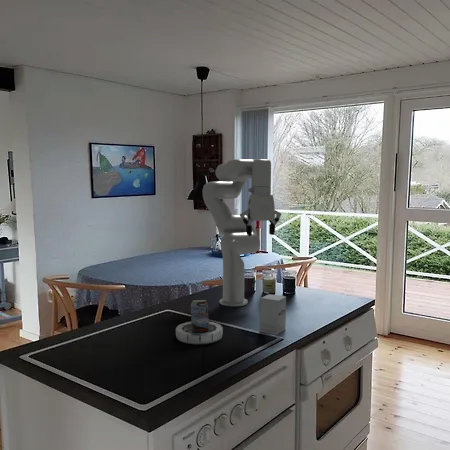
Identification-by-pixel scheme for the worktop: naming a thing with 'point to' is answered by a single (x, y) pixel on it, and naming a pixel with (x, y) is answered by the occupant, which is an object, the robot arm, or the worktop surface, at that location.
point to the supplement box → (272, 314)
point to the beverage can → (199, 317)
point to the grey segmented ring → (188, 337)
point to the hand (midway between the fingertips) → (260, 235)
